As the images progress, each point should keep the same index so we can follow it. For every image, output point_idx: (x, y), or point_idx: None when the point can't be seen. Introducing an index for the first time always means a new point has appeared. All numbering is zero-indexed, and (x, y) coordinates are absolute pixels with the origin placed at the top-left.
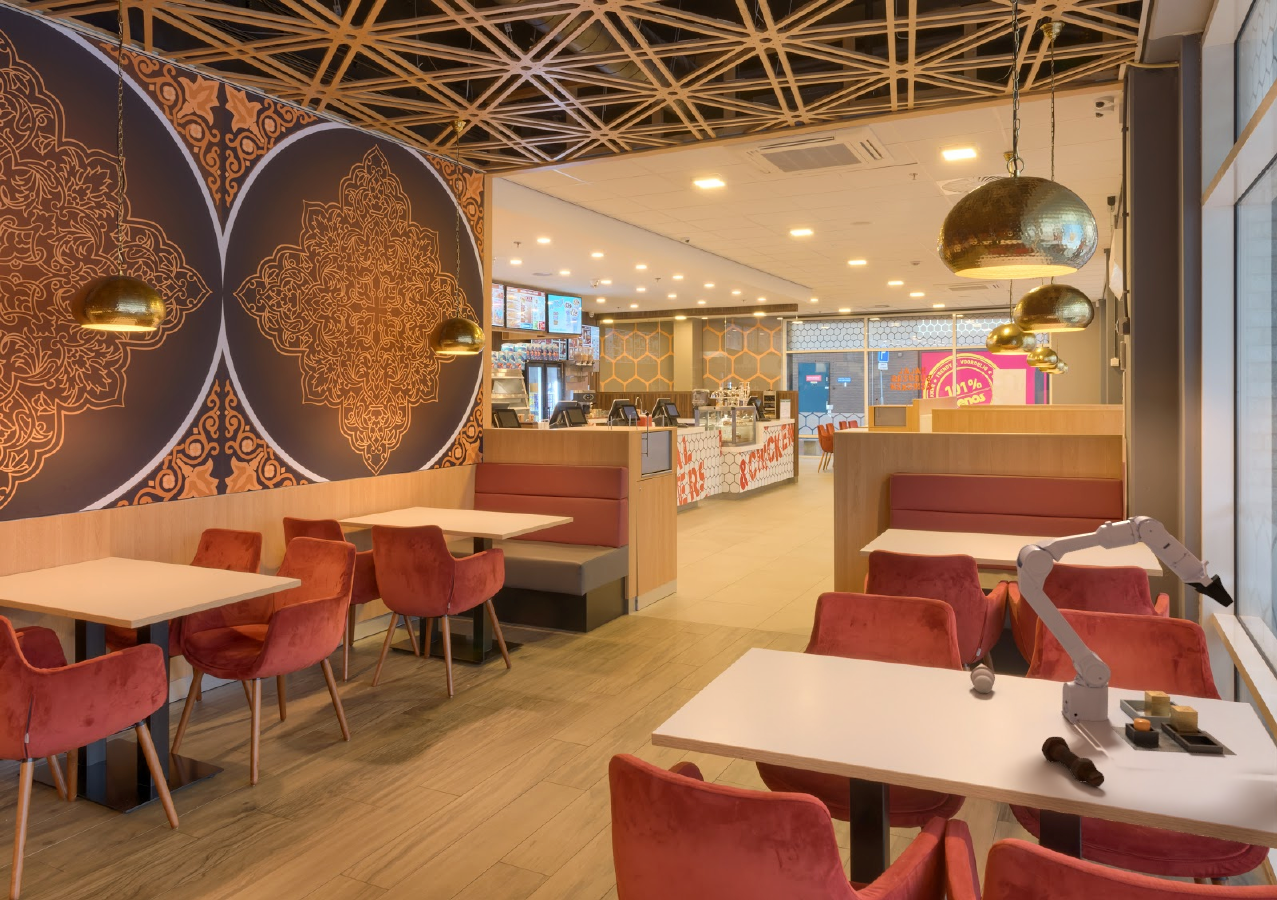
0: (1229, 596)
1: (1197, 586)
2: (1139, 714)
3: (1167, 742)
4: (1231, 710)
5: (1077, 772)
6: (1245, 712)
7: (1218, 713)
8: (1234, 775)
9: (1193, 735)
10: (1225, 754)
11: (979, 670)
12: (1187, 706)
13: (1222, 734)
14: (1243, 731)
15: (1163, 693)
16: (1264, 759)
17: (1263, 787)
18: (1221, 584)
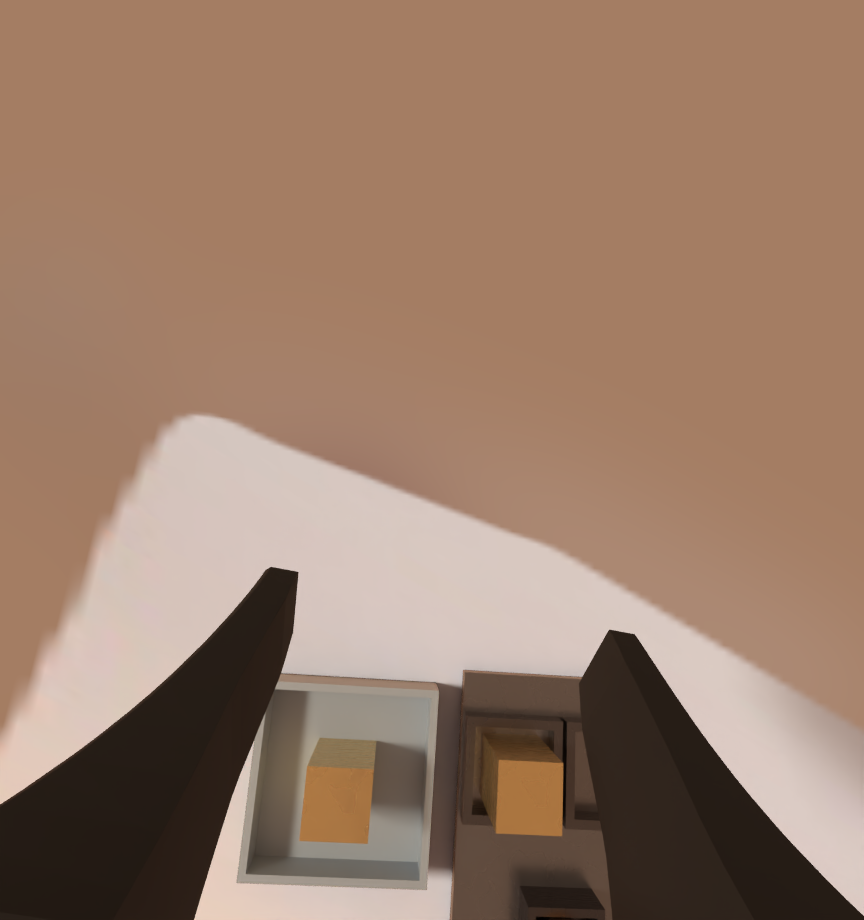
0: (667, 691)
1: (212, 854)
2: (407, 882)
3: (578, 852)
4: (242, 467)
5: None
6: (260, 436)
7: (269, 522)
8: (758, 751)
9: (574, 771)
10: None
11: None
12: (503, 770)
13: (453, 613)
14: (424, 536)
15: (333, 776)
16: (633, 602)
17: (822, 716)
18: (831, 893)
